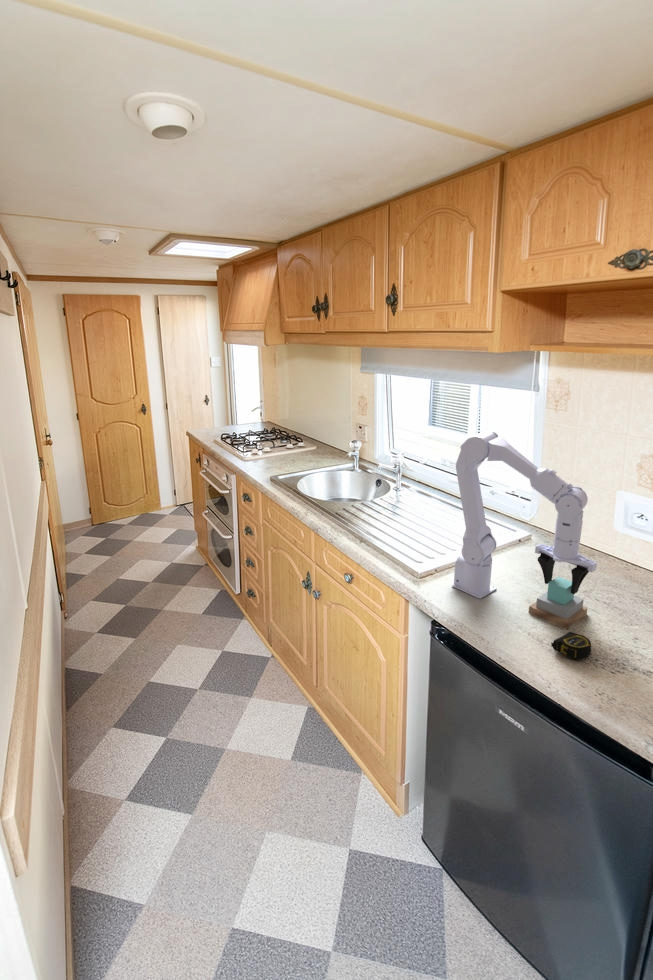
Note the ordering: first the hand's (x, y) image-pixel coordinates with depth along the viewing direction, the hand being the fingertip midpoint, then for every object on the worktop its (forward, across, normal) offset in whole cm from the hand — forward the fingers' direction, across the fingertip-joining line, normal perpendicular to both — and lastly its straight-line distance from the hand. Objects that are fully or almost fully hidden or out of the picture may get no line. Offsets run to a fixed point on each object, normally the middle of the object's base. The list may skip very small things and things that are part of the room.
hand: (560, 587), depth 130 cm
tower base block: (+8, 0, 0) cm, 8 cm away
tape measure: (+8, +10, -13) cm, 18 cm away
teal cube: (+3, 0, 0) cm, 3 cm away
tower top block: (+6, 0, 0) cm, 6 cm away
